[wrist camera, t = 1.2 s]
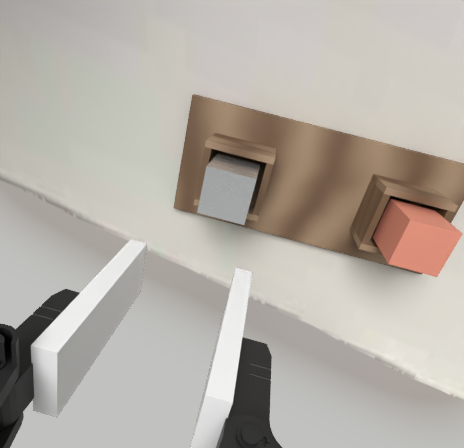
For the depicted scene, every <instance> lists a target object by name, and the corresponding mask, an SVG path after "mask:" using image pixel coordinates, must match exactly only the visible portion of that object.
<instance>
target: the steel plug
mask: <svg viewBox="0 0 464 448" xmlns="http://www.w3.org/2000/svg"><path fill="white" fill-rule="evenodd" d="M259 168H260V164H257V163H253V162H249V161H245V160H242V159H238V158H234V157H230V156H226V155H222V154H219V153H218V154H217V155H216V156H215V157H214V158H213V159H212V160H211V162H210V163H209V164H208V165H207V166H206V171H205V176H204V181H203V186H202V191H201V196H200V201H199V206H198V211H197V213H200V214H204V215H208V216H211V217H215V218H219V219H222V220H226V221H230V222H234V223H237V224H241V225H244V224H245V221H246V217H247V213H248V210H249V206H250V202H251V198H252V195H253V191H254V187H255V184H256V180H257V176H258V172H259Z"/></svg>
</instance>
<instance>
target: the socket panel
mask: <svg viewBox="0 0 464 448" xmlns="http://www.w3.org/2000/svg"><path fill="white" fill-rule="evenodd" d="M218 153H219V154H222V155H226V156H230V157H234V158H238V159H242V160H245V161H249V162H253V163H257V164H260V168H259V172H258V176H257V180H256V184H255V187H254V191H253V195H252V198H251V202H250V206H249V210H248V213H247V217H246V221H245V224H244V225H241V224H237V223H234V222H230V221H226V220H222V219H219V218H215V217H211V216H208V215H204V214H200V213H197V211H198V206H199V201H200V196H201V191H202V186H203V181H204V176H205V171H206V166H207V165H208V164H209V163H210V162H211V160H212V159H213V158H214V157H215V156H216V155H217V154H218ZM390 199H394V200H398V201H402V202H406V203H410V204H413V205H417V206H421V207H425V208H429V209H433V210H435V211H436V212H437V213H439V214H440V215H441V216H442V217H443V218H445V219H446V220H447V221H448V222H449V223H451V222H452V220H453V218H454V217H455V215H456V213H457V211H458V209H459V208H460V206H461V204H462V202H463V201H464V163H460V162H456V161H452V160H448V159H444V158H440V157H436V156H432V155H428V154H425V153H421V152H417V151H413V150H409V149H405V148H401V147H397V146H393V145H390V144H386V143H382V142H378V141H374V140H370V139H366V138H362V137H358V136H354V135H351V134H347V133H343V132H339V131H335V130H331V129H327V128H323V127H319V126H316V125H312V124H308V123H304V122H300V121H296V120H292V119H288V118H284V117H280V116H277V115H273V114H269V113H265V112H261V111H257V110H253V109H249V108H245V107H241V106H238V105H234V104H230V103H226V102H222V101H218V100H214V99H210V98H206V97H203V96H199V95H192V101H191V107H190V113H189V119H188V125H187V131H186V137H185V143H184V149H183V155H182V161H181V167H180V173H179V179H178V185H177V191H176V197H175V203H174V208H176V209H180V210H183V211H187V212H191V213H195V214H198V215H202V216H206V217H209V218H213V219H217V220H221V221H224V222H228V223H232V224H236V225H239V226H243V227H247V228H251V229H254V230H258V231H262V232H265V233H269V234H273V235H277V236H280V237H284V238H288V239H292V240H295V241H299V242H303V243H306V244H310V245H314V246H318V247H321V248H325V249H329V250H333V251H336V252H340V253H344V254H347V255H351V256H355V257H359V258H362V259H366V260H370V261H374V262H377V263H381V264H385V265H388V266H392V267H396V268H400V269H403V270H407V271H411V272H415V273H418V274H422V273H420V272H416V271H413V270H409V269H405V268H402V267H398V266H394V265H390V264H388V263H387V261H386V259H385V258H384V256H383V254H382V253H381V251H380V249H379V247H378V246H377V244H376V242H375V241H374V239H373V235H374V233H375V231H376V229H377V226H378V224H379V222H380V220H381V218H382V216H383V213H384V211H385V209H386V207H387V205H388V203H389V201H390Z"/></svg>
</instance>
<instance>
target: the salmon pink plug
mask: <svg viewBox="0 0 464 448" xmlns="http://www.w3.org/2000/svg"><path fill="white" fill-rule="evenodd" d="M461 236H462V233H461V232H460V231H459V230H458V229H456V228H455V227H454V226H453V225H452V224H451V223H449V222H448V221H447V220H446V219H445V218H443V217H442V216H441V215H440V214H439V213H437V212H436V211H435V210H433V209H429V208H425V207H421V206H417V205H413V204H410V203H406V202H402V201H398V200H394V199H390V201H389V203H388V205H387V207H386V209H385V211H384V213H383V216H382V218H381V220H380V222H379V224H378V226H377V229H376V231H375V233H374V235H373V239H374V241H375V242H376V244H377V246H378V247H379V249H380V251H381V253H382V254H383V256H384V258H385V259H386V261H387V263H388V264H390V265H394V266H398V267H402V268H405V269H409V270H413V271H416V272H420V273H424V274H428V275H431V276H435V277H437V276H438V274H439V273H440V271H441V269H442V268H443V266H444V264H445V263H446V261H447V259H448V258H449V256H450V254H451V252H452V251H453V249H454V247H455V246H456V244H457V242H458V241H459V239H460V237H461Z"/></svg>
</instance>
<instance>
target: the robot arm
mask: <svg viewBox="0 0 464 448" xmlns="http://www.w3.org/2000/svg"><path fill="white" fill-rule="evenodd" d="M146 248H147V243H143V242H139V241H136V240H132V239H131V240H130V241H129V242H128V243H127V244H126V245H125V246H124V247H123V248H122V249H121V250H120V251H119V253H118V254H117V255H116V256H115V257H114V258H113V259H112V260H111V261H110V262H109V263H108V264H107V265H106V266H105V267H104V268H103V270H102V271H101V272H100V273H99V274H98V275H97V276H96V277H95V278H94V279H93V280H92V281H91V282H90V283H89V284H88V285H87V286H86V288H85V289H84V290H83V291H82V292H81V293H78V292H75V291H71V290H68V289H65V290H62V291H60V292H58V293H56V294H54V295H52V296H51V297H50V298H49V299H48V300H47V301H45V302H44V303H43V304H42V306H41V307H39V308H38V309H37V310H36V311H35V312H34V313H33V315H31V316H30V317H29V318H27V319H26V320H25V321H24V322H23V323H22V324H21V325H20V326H19V327H18V328H17V329H16V330H15V329H14V328H13V327H12V326H8V325H5V324H0V448H10V446H11V444H12V442H13V440H14V438H15V436H16V434H17V432H18V430H19V428H20V426H21V424H22V420H23V411H24V410H25V408H26V407H27V406H28V405H29V403H30V402H31V401H32V399H33V410H34V411H37V412H40V413H43V414H47V415H50V416H53V417H58V415H59V414H60V412H61V411H62V409H63V408H64V406H65V405H66V403H67V402H68V400H69V399H70V397H71V396H72V394H73V393H74V391H75V390H76V388H77V386H78V385H79V384H80V382H81V381H82V379H83V378H84V376H85V375H86V373H87V372H88V370H89V369H90V367H91V366H92V364H93V363H94V361H95V360H96V358H97V356H98V355H99V354H100V352H101V350H102V349H103V348H104V346H105V345H106V343H107V342H108V340H109V339H110V337H111V335H112V334H113V333H114V331H115V330H116V328H117V327H118V325H119V324H120V322H121V321H122V319H123V317H124V316H125V315H126V313H127V311H128V310H129V309H130V307H131V305H132V304H133V302H134V301H135V300H136V298H137V296H138V295H139V293H140V292H141V285H142V277H143V270H144V263H145V255H146ZM251 277H252V272H249V271H246V270H242V269H238V268H236V269H235V273H234V276H233V280H232V283H231V287H230V291H229V295H228V298H227V302H226V305H225V309H224V313H223V316H222V320H221V324H220V328H219V333H218V336H217V340H216V345H215V349H214V353H213V357H212V361H211V365H210V369H209V373H208V377H207V381H206V385H205V389H204V393H203V397H202V401H201V405H200V409H199V413H198V418H197V421H196V425H195V429H194V433H193V437H192V442H191V445H190V448H282V447H281V446H280V445H279V443H278V442H277V441H276V439H275V438H274V436H273V434H272V431H271V428H270V422H269V413H270V384H271V381H270V379H271V354H270V351H269V349H268V347H267V345H266V344H264V343H261V342H257V341H254V340H250V339H246V338H243V331H244V324H245V317H246V311H247V304H248V297H249V291H250V284H251Z"/></svg>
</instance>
